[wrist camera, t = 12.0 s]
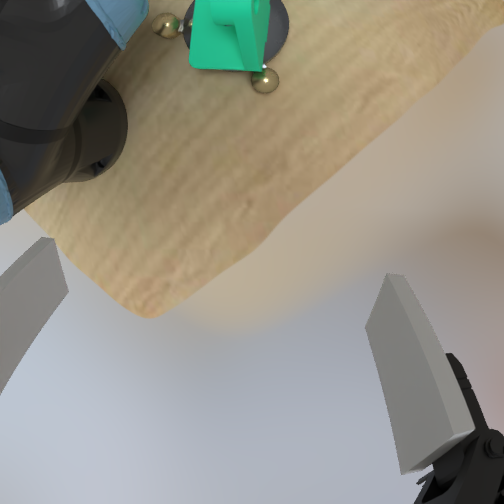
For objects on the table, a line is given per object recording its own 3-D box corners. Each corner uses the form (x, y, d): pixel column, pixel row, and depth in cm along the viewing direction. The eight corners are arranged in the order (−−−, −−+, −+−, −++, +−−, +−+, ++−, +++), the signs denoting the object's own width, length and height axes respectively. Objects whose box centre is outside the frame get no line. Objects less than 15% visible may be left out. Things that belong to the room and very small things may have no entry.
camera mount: (206, -19, 23) (170, -51, 14) (273, -20, 22) (258, -59, 13) (196, 69, 29) (154, 63, 20) (263, 72, 28) (244, 63, 20)
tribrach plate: (156, 89, 32) (147, 90, 30) (167, -26, 24) (160, -33, 21) (281, 94, 32) (282, 94, 30) (293, -25, 24) (294, -34, 21)
